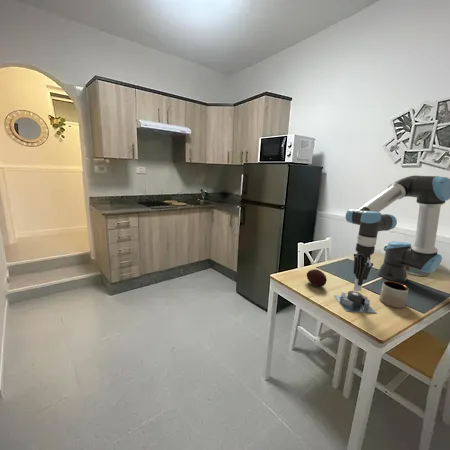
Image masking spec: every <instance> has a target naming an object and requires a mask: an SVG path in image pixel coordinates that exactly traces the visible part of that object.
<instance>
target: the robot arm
mask: <svg viewBox="0 0 450 450" xmlns="http://www.w3.org/2000/svg"><path fill="white" fill-rule="evenodd" d="M405 197H408V198H410V197H412V198H416V203H417V204H418V205H419V208H418V215H417V225H416V231H415V232H416V233H415V240H414V241H415V242H414V244H413V245H412V244H411V243H409V242H405V241H396V240H395V241H389V242H388V243H387V246H386V248H385V254H384V257H383V262H382V264H381V265H380V267H379V268H378V269H377V270H378V271H377V275H378V276H380V277H381V278H383V279H386V280H387V281H394V282H398V283H403V282H406V281H407V272H406V271H407V270H406V267H409V268H413V269H414V270H418V271H420V272H423V273H424V272H425V273H427V274H430V273H434V272H435V271H436V270H437V269H438V267H439V266H440V265H441V262H442V260H443V257H442V254H438V252H439V249H438V248H437V247H436V246H435V245H436V240H437V233H438V227H439V226H438V225H439V220H440V214H441V213H440V212H441V207H442V205H445V204H446V201H449V200H450V178H449V177H447V176H439V175H437V176H436V175H409V176H405V177H403V178H400V179H397V180H395V181H394V182H392V183H390V184H389V185H388V186H387V189H385V190H383V191H382V192H381V193H379V194H377V195H376V196H375V197H373V198H372V199H370V200H369V201H367V202H366V203H365V204H363V205H362V206H360V207H358V208H350V209H348V210H347V211H346V213H345V216H344V217H345V220H346V222H348V223H351V224H353V225H357V226H359V228H358V235H357V237H356V241H357V242H356V244H355V252H356V253H353V274H354V276H355V281H354V284H353V285H354V286H353V291H355V292H361V291H362V286H363V282H364V281H365V280H366V281H367V279H368V277H369V274H370V271H371V269H372V267H373V266H374V263H373V262H371V256H372V255H374V252H375V250H376V249H375V248H376V244H377V240H378V239H377V238H378V233H379V232H383V231H390V230H393V229H394V228H396V227H397V223H398V222H397V221H398V220H397V218H396V217H395V215H393V214H388V213H387V214H386V213H384V214H383V213H381V212H382V210H384V209H385V208H387V207H388V206H391V204H392V203H394V202H396V201H397V200H401V199H404V198H405Z"/></svg>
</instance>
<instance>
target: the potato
mask: <svg viewBox="0 0 450 450" xmlns="http://www.w3.org/2000/svg"><path fill="white" fill-rule="evenodd" d="M306 279H307V280H308V282H309V283H310V284H311V285H313V286H315V287H318V288H319V287H320V288H321V287H324V286H325V285H326V283H327V279H328V278H327V276H326V275H325V273H324V272H323V271H321V270H320V269H315V268H314V269H311V270H309V271H307V273H306Z"/></svg>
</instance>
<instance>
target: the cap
mask: <svg viewBox="0 0 450 450" xmlns="http://www.w3.org/2000/svg"><path fill="white" fill-rule="evenodd" d="M346 296H347V299H349V300H351V301H353V302H354V307H360V306H361V303H362V298H363V296H364V295H363V294H362V293H360V292H359V291H355V290H349V291H348V292H347V295H346Z"/></svg>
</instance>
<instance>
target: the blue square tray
mask: <svg viewBox="0 0 450 450" xmlns="http://www.w3.org/2000/svg"><path fill="white" fill-rule="evenodd" d="M340 294H341V295H335V294H334V295H333V296H334V298H335V300H337V301H338V302H339V303H338V304H340V306H341V307H342V308H343V310H345V312H348V313H349V312H354V313H366V314H377V311H376V310H374V309H373V307H372V306H370V301H371V300H370V299H368V297H367V296H365V295H363V298H362V303H361V306H360V307H354V302H353V301H351V300H349V299H347V296H348V295H347V293H346V292H341V293H340Z"/></svg>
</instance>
